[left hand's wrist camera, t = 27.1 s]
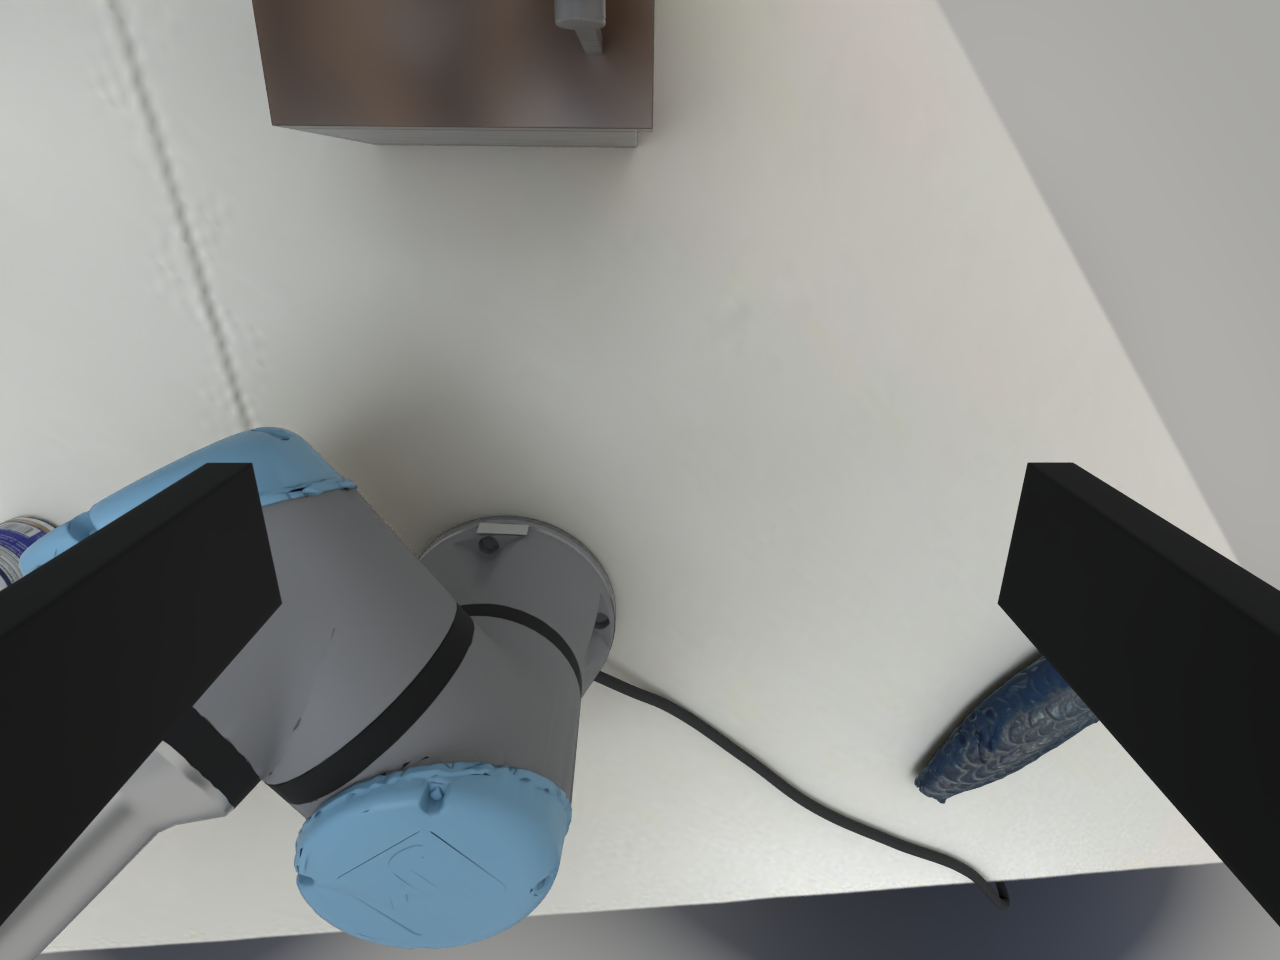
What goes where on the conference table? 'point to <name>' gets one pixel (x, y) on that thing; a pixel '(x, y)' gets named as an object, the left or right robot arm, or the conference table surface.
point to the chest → (483, 137)
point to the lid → (458, 64)
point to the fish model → (1007, 732)
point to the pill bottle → (17, 545)
